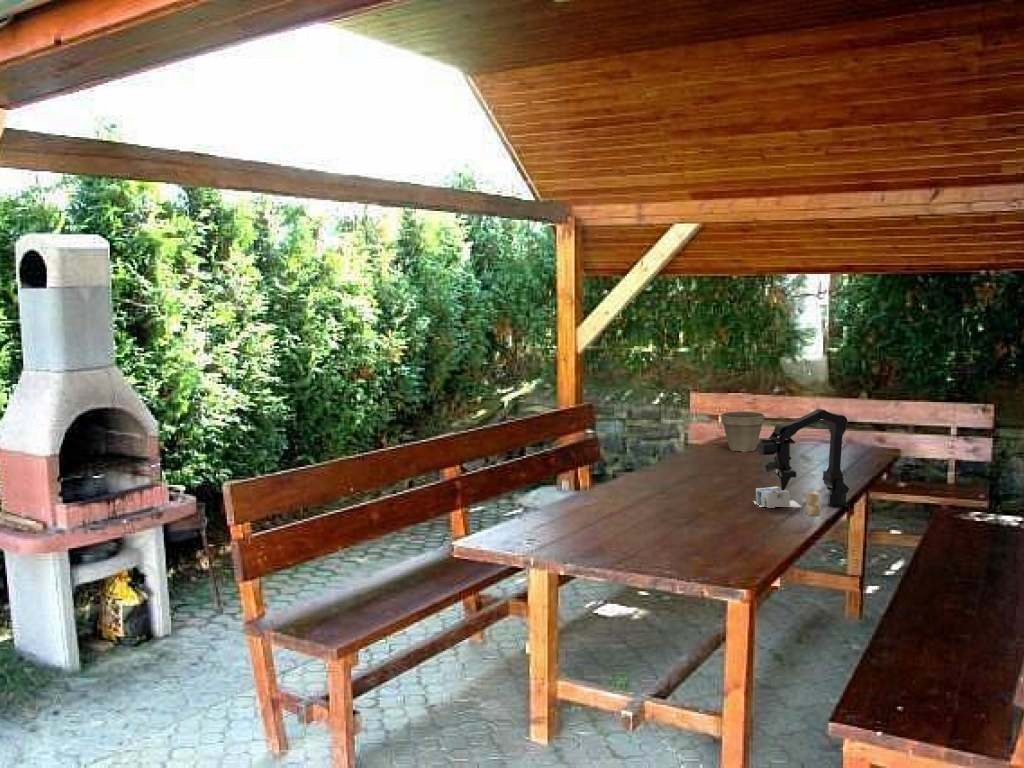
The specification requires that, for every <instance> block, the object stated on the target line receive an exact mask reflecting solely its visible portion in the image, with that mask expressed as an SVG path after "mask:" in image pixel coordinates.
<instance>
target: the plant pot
mask: <svg viewBox="0 0 1024 768" xmlns="http://www.w3.org/2000/svg"><path fill="white" fill-rule="evenodd" d="M720 417H721V418H720V420H721V421H720V422H721V424H722V425H723V428H724V432H725V436H726V440H727V443H728V447H729V450H730V451H731V450H732V451H731V452H734V451H741V452H740V453H748V452H747V451H753V452H755V451H756V449H757V448H758V444H759V443H758V442H759V438H760V434H761V432H762V426H763V424H765V414H764V413H762V412H756V411H729V412H723V413H721V414H720ZM754 450H755V451H754Z"/></svg>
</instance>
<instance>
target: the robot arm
mask: <svg viewBox="0 0 1024 768" xmlns="http://www.w3.org/2000/svg"><path fill="white" fill-rule="evenodd" d="M821 420H822V421H824V422H826V423H827V428H828V431H829V434H830V438H829V439H830V440H829V453H828V454H829V455H828V456H829V457H828V467H827V469H826V470H823V471H822V475H823V476H822V479H821V480H822V481H823V484H824V485H825V486H826V489H827V490H828V491H829V492H828V494H827V504H828V505H829V506H830V507H832V508H840V507H841V508H843V507H844V508H847V507H848V505H847V494H848V493H849V490H850V488H849V486H847V484H846V483H845V482H844V475H843V471H842V469H841V466H842V465H841V463H842V449H843V447H842V446H843V436H844V434H845V432H846V431H847V427H848V421H849V420H848V418H847V417H846V416H845V415H842V414H838V413H832V412H830V411H828V410H826V409H822V408H816V409H815V410H813V411H812V412H809V413H807V414H805V415H803V416H801V417H798V418H797V419H794V420H793V421H786V422H783V423H782V422H781V423H779V424H776V425H775V426H774V430H773V431H772V433H771V434H770V436H769V437H768V438H760V441H758V442H759V443H758V444H757V451H758V454H759V455H760V456H769V455H770V456H771V455H774V456H773V459H770V460H767V461H764V462H762V463H761V465H762V468H763V471H764V472H766V473H769V472H771V471H774V470H775V472H773V474H774V475H775V476H776V477H777V478H778V483H779V486H780V487H779V488H781V490H786V487H787V486H788V483H789V481H790V480H791V478H797V472H796V471H795V470H794V469H793V468H792V466H791V460H792V456H791V444H795V443H796V441H794V439H793V438H792V437H793V436H795V435H796V433H797V432H799V431H800V430H802V429H804V428H806V427H808V426H810V425H812V424H815V423H816V422H817V423H818V421H821Z"/></svg>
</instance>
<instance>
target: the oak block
mask: <svg viewBox="0 0 1024 768" xmlns="http://www.w3.org/2000/svg"><path fill="white" fill-rule="evenodd" d="M805 498H806V500H805V501H806V502H805V503H806V504H805V507H806V509H805V511H806V512H805V514H806V513H807V514H806V515H808V516H809V515H819V516H820V494H819V493H818V492H816V491H813V492H812V491H809V492H807V491H806V495H805Z"/></svg>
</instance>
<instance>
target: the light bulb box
mask: <svg viewBox="0 0 1024 768" xmlns="http://www.w3.org/2000/svg"><path fill="white" fill-rule="evenodd" d="M790 496H791V495H790V491H789V490H787V489H785V490H781V487H779V486H770V487H759V488H758V487H757V488H755V501H756V503H758V504H760V505H762V506H765V507H767V508H766V509H771V508H772V509H776V508H775V507H784V506H790V501H791V497H790Z"/></svg>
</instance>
